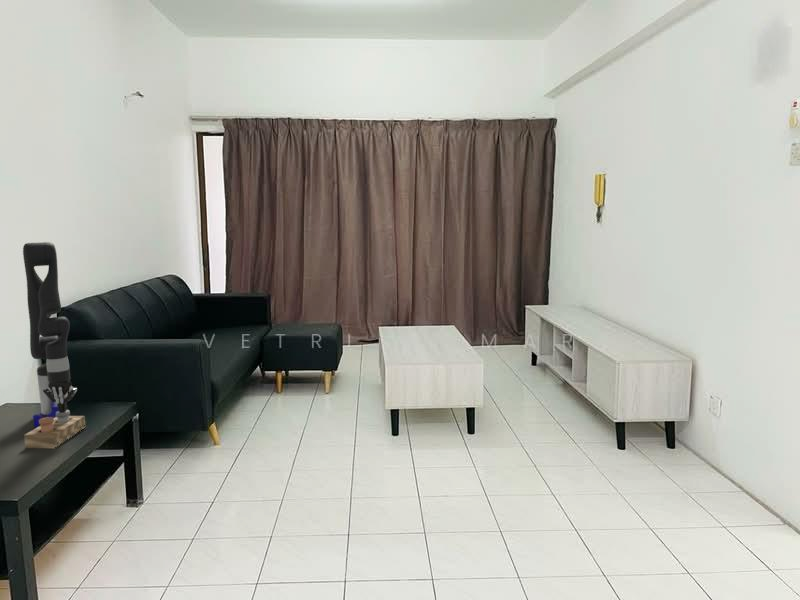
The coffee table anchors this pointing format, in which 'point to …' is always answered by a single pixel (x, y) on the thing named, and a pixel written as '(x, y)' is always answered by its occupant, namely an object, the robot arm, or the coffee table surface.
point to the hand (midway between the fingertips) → (62, 411)
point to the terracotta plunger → (46, 424)
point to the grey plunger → (63, 416)
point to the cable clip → (52, 414)
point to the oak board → (54, 433)
